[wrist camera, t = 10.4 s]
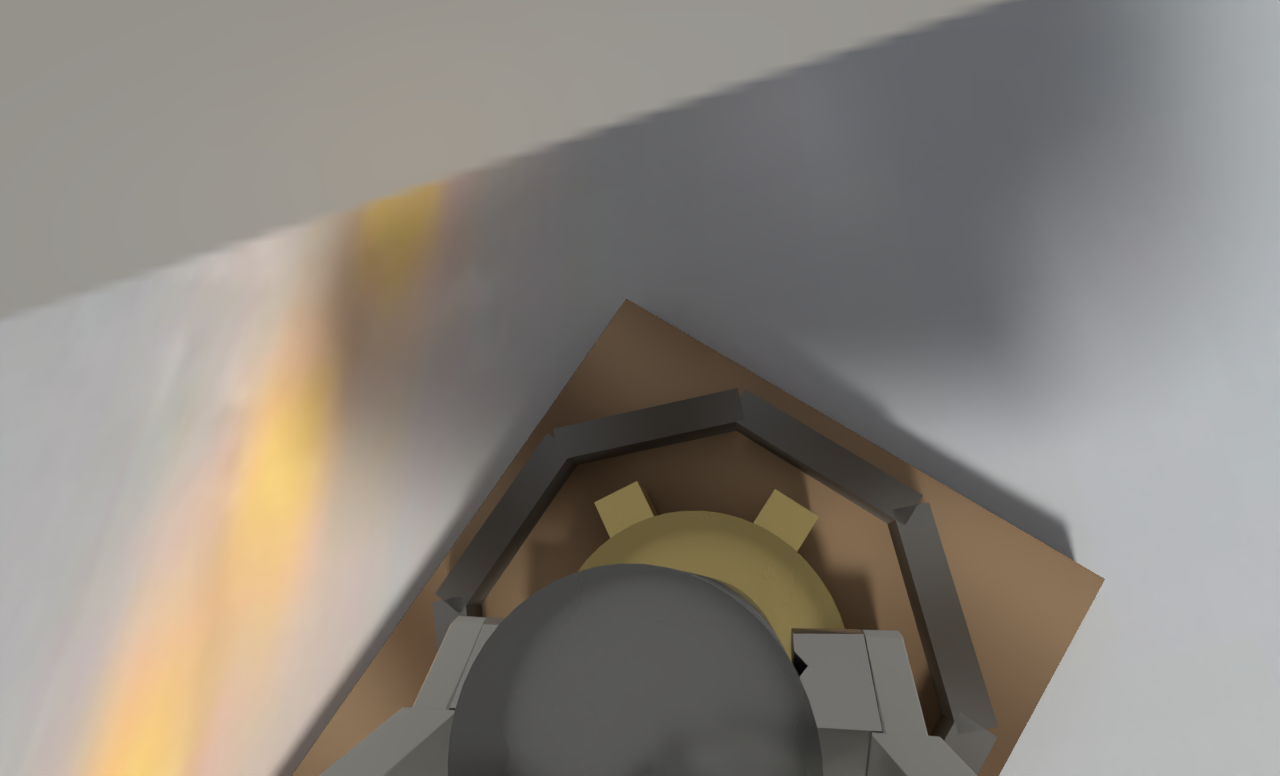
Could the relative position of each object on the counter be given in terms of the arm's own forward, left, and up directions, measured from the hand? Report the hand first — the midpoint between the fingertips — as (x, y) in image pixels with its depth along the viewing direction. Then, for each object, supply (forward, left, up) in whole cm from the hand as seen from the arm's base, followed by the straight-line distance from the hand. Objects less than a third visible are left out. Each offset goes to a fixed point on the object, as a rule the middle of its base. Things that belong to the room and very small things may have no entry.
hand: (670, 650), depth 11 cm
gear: (+1, 0, -6) cm, 6 cm away
